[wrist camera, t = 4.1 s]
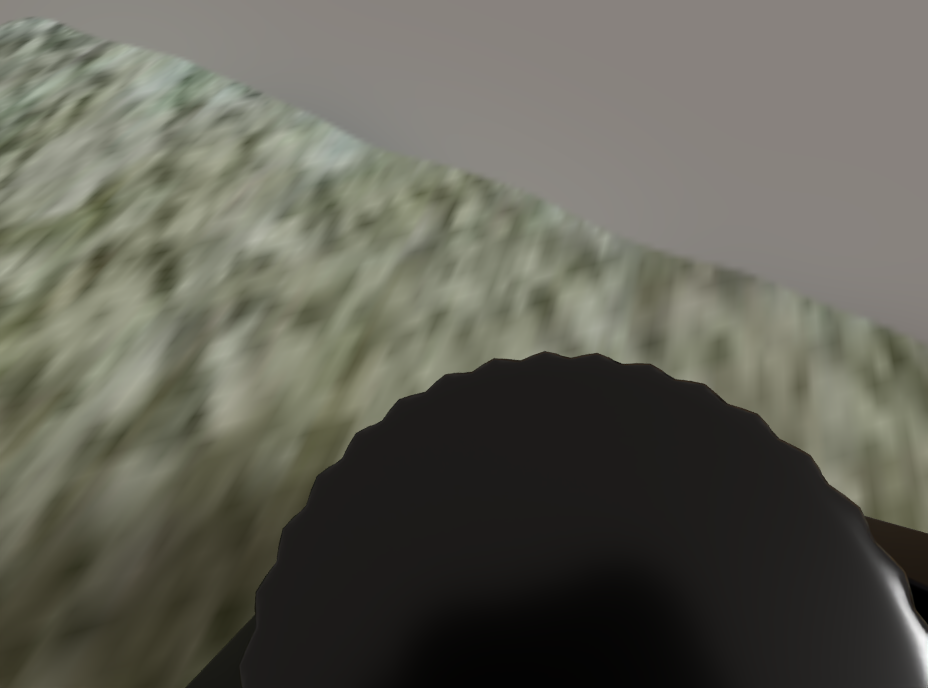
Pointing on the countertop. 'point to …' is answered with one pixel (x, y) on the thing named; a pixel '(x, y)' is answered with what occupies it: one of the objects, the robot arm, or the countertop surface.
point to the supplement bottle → (579, 548)
